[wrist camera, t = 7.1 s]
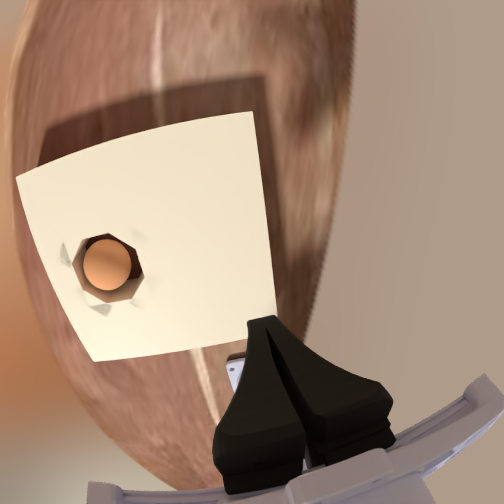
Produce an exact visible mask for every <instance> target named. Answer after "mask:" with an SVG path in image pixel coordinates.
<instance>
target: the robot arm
mask: <svg viewBox="0 0 504 504" xmlns="http://www.w3.org/2000/svg"><path fill="white" fill-rule="evenodd" d="M247 328H248V341H247V350H246V356H245V358H240V359H235V360H230V361H228V362H226V368H227V371H228V375H229V378H230V381H231V384H232V388H233V391H234V396H233V398H232V400H231V402H230V404H229V406H228V408H227V410H226V412H225V414H224V416H223V417H222V419H221V421H220V422H219V424H218V425H217V427H216V430H215V434H214V439H213V447H212V454H213V461H214V465H215V466H216V468H217V469H218V470H219V472H220V473H221V474H222V476H223V482H224V487H219V488H210V489H199V490H184V491H134V490H122V489H121V488H120V487H119V486H117V485H114V484H111V483H103V482H94V481H89V482H88V491H87V504H436V503H435V501H434V499H433V497H432V495H431V493H430V491H429V490H428V488H427V486H426V484H425V482H424V481H423V478H425V477H426V476H428V475H430V474H431V473H432V472H434V471H435V470H437V469H438V468H440V467H441V466H443V465H444V464H446V463H447V462H448V461H450V460H451V459H452V458H454V457H455V456H456V455H458V454H459V453H460V452H461V451H463V450H464V449H465V448H466V447H468V446H469V445H470V444H472V443H473V442H474V441H475V440H476V439H478V437H480V436H481V435H482V434H484V433H485V432H486V431H487V430H488V429H489V428H490V427H491V426H492V425H493V423H494V422H495V421H496V420H497V419H498V418H499V416H500V415H501V414H502V413H503V412H504V395H503V394H502V393H501V392H500V391H499V389H498V388H497V387H496V386H495V385H494V384H493V382H492V381H491V380H490V379H489V378H488V377H487V376H486V374H482V375H481V376H480V377H479V378H477V379H476V380H475V381H473V382H472V383H471V384H470V385H469V386H468V387H467V388H466V390H465V391H464V393H463V395H462V396H460V397H459V398H458V399H456V400H455V401H453V402H452V403H450V404H449V405H447V406H445V407H444V408H442V409H441V410H439V411H438V412H436V413H434V414H433V415H431V416H429V417H428V418H426V419H424V420H422V421H421V422H419V423H417V424H415V425H414V426H412V427H410V428H408V429H406V430H404V431H402V432H400V433H398V434H396V435H394V434H393V433H392V431H391V429H390V425H391V424H390V422H389V420H388V418H387V417H388V415H389V412H390V410H391V408H392V405H393V399H392V397H391V396H390V394H389V393H388V391H387V390H386V389H385V388H384V387H383V386H382V385H381V384H380V383H379V382H377V381H373V380H370V379H366V378H363V377H360V376H357V375H355V374H352V373H350V372H348V371H346V370H344V369H342V368H339V367H338V366H335V365H334V364H332V363H330V362H328V361H327V360H325V359H324V358H322V357H320V356H319V355H318V354H316V353H315V352H313V351H312V350H311V349H309V348H308V347H307V346H306V345H304V344H303V343H302V342H301V341H300V340H299V339H297V338H296V337H295V336H294V335H293V334H292V333H291V332H290V331H289V330H288V329H287V328H286V327H285V326H284V325H283V324H282V323H281V321H280V320H279V319H278V318H277V316H275V315H270V316H265V317H261V318H256V319H252V320H248V321H247Z"/></svg>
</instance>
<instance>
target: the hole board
mask: <svg viewBox="0 0 504 504" xmlns="http://www.w3.org/2000/svg"><path fill="white" fill-rule="evenodd" d="M16 180H17V184H18V189H19V192H20V196H21V200H22V204H23V207H24V211H25V214H26V217H27V220H28V223H29V227H30V230H31V233H32V235H33V238H34V241H35V244H36V247H37V249H38V252H39V255H40V257H41V260H42V262H43V265H44V267H45V270H46V272H47V274H48V277H49V279H50V281H51V283H52V286H53V288H54V290H55V292H56V294H57V296H58V298H59V301H60V303H61V305H62V307H63V309H64V311H65V313H66V314H67V316H68V318H69V320H70V322H71V324H72V326H73V328H74V329H75V331H76V333H77V335H78V336H79V338H80V340H81V342H82V343H83V345H84V347H85V348H86V350H87V352H88V353H89V355H90V357H91V358H92V360H93V361H94V362H95V361H106V360H116V359H125V358H134V357H141V356H149V355H156V354H163V353H170V352H176V351H183V350H189V349H194V348H200V347H206V346H211V345H216V344H222V343H227V342H232V341H236V340H241V339H246V338H248V328H247V321H248V320H252V319H256V318H261V317H265V316H270V315H275V316H277V308H276V299H275V289H274V280H273V271H272V262H271V253H270V245H269V236H268V228H267V219H266V211H265V203H264V195H263V187H262V179H261V171H260V163H259V156H258V148H257V140H256V133H255V126H254V118H253V111H249V112H241V113H234V114H227V115H220V116H214V117H208V118H202V119H197V120H191V121H186V122H181V123H177V124H172V125H168V126H163V127H159V128H155V129H151V130H147V131H143V132H139V133H135V134H131V135H128V136H124V137H121V138H117V139H114V140H111V141H108V142H104V143H101V144H98V145H95V146H92V147H89V148H86V149H83V150H80V151H78V152H75V153H72V154H69V155H67V156H64V157H62V158H59V159H56V160H54V161H51V162H49V163H47V164H44V165H42V166H39V167H37V168H35V169H33V170H30V171H28V172H26V173H24V174H22V175H19V176H17V177H16ZM106 233H110V234H111V235H113V236H115V237H116V238H118V239H120V240H121V241H123V242H125V243H126V244H128V245H130V246H131V247H133V248H135V249H136V252H137V255H138V258H139V261H140V264H141V267H142V270H143V271H142V273H141V275H140V277H139V278H136V279H131V280H126V281H125V282H124V284H122V285H121V286H120V287H118V288H116V289H113V290H102V289H99V288H97V287H95V286H94V285H93V284H91V282H90V281H89V280H88V279H87V277H86V275H85V272H84V266H83V262H84V257H85V254H86V252H87V249H86V244H87V242H88V240H89V238H90V237H94V236H98V235H102V234H106Z"/></svg>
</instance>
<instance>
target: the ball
mask: <svg viewBox="0 0 504 504" xmlns="http://www.w3.org/2000/svg"><path fill="white" fill-rule="evenodd" d="M83 266H84V272H85V275H86V277H87V279H88V280H89V281H90V282H91V284H93V285H94V286H95V287H97V288H99V289H102V290H113V289H116V288H118V287H120V286H121V285H122V284H124V282H125V281H126V280H127V278H128V277H129V274H130V271H131V259H130V256H129V253H128V251H127V250H126V248H125V247H124V246H123V245H122V244H120V243H119V242H117V241H115V240H111V239H103V240H99V241H97V242H95V243H94V244H92V245H91V246H90V247H89V249H88V250H87V252H86V254H85V257H84V262H83Z"/></svg>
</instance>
